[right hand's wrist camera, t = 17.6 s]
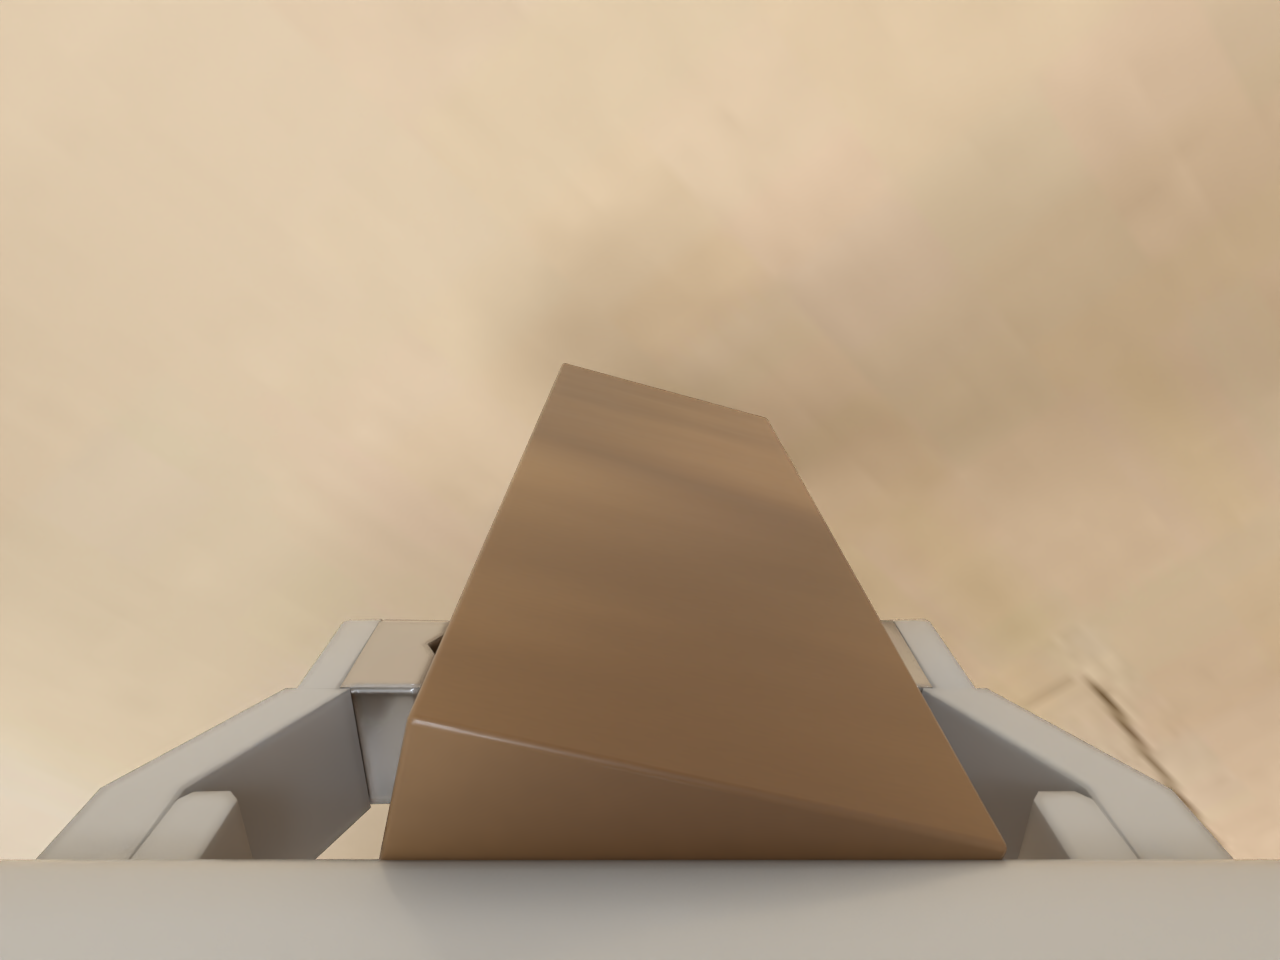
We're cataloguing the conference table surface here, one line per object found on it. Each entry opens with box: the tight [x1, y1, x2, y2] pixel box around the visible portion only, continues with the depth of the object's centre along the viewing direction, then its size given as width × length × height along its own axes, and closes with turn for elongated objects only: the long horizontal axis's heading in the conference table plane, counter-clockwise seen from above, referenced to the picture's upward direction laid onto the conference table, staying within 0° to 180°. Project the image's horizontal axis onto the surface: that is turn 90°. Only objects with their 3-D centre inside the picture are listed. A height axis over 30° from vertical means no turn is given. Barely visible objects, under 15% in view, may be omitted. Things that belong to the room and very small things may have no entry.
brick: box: [379, 363, 1007, 860], centre depth 11 cm, size 4×5×11 cm
